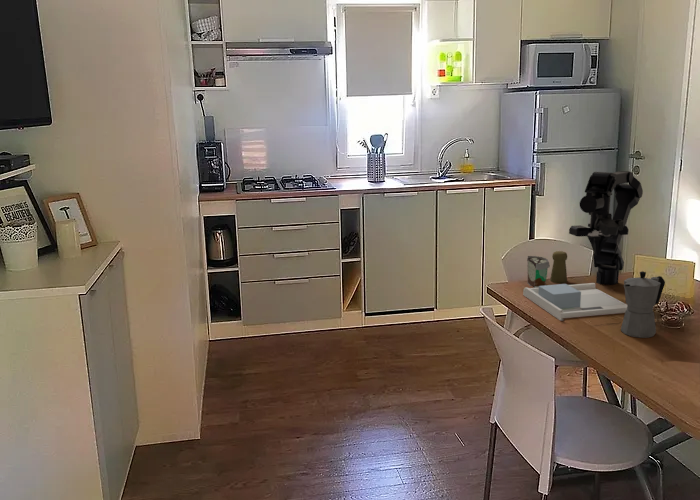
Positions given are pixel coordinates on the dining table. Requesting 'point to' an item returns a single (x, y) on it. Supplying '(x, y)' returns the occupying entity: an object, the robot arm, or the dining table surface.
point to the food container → (537, 271)
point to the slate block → (561, 295)
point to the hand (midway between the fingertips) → (596, 255)
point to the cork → (559, 267)
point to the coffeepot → (641, 305)
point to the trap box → (589, 304)
